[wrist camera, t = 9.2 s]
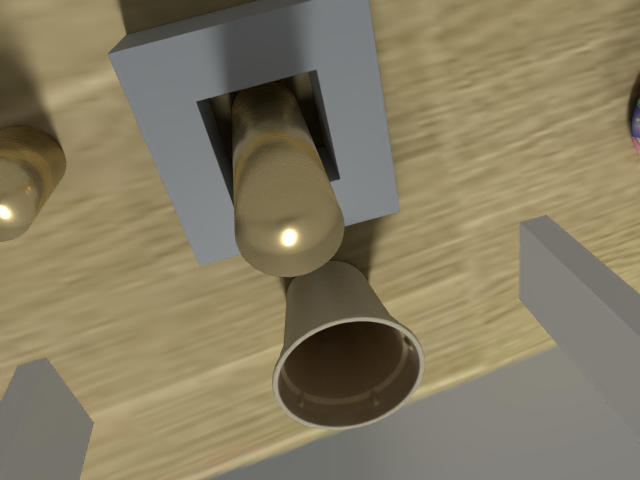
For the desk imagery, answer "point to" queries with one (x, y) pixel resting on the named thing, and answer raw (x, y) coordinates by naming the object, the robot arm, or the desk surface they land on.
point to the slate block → (247, 71)
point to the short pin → (26, 176)
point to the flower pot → (343, 352)
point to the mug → (636, 127)
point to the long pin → (280, 186)
